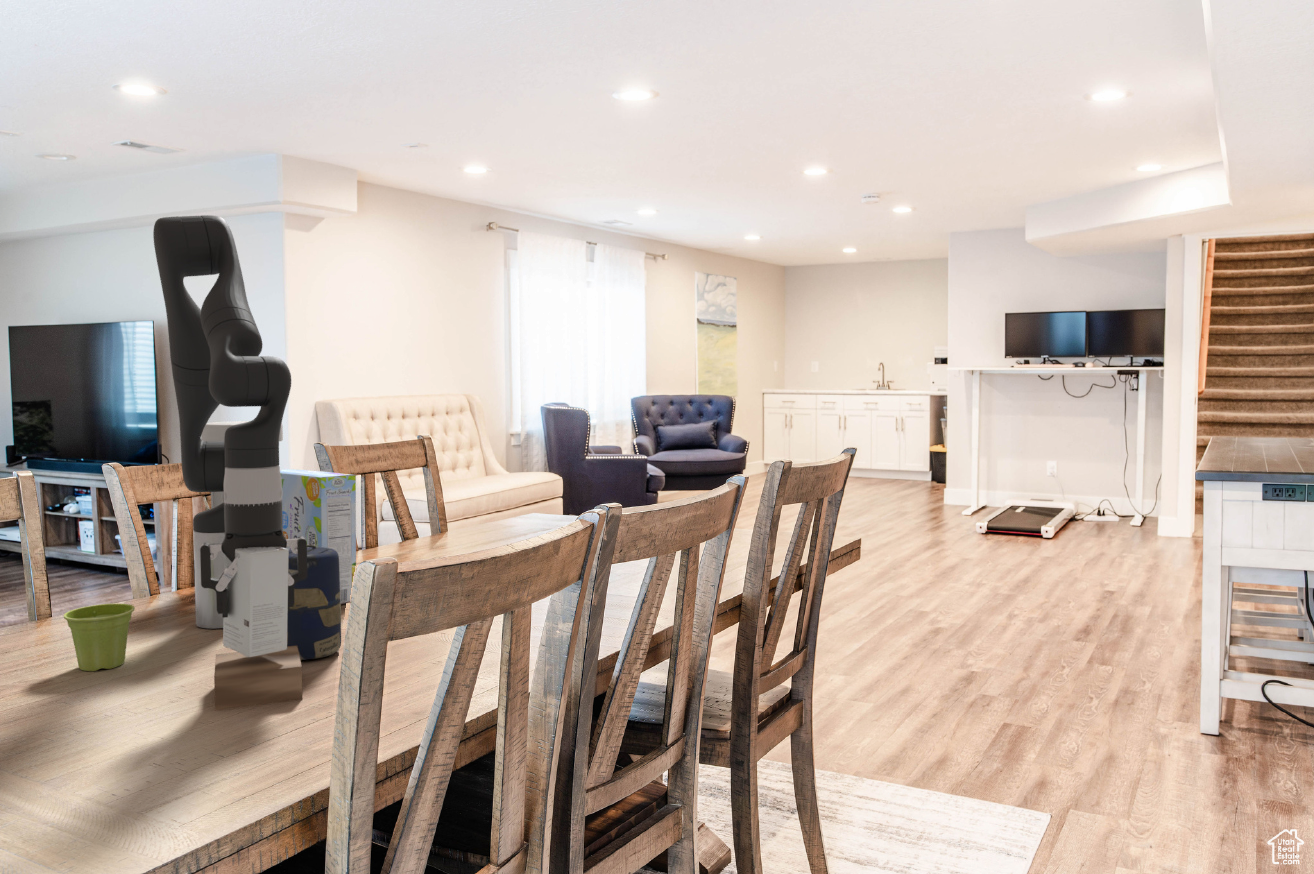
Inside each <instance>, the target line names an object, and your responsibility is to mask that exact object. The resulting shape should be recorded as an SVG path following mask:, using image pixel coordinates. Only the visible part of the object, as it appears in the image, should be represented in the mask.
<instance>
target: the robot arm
mask: <svg viewBox="0 0 1314 874" xmlns="http://www.w3.org/2000/svg"><path fill="white" fill-rule="evenodd" d="M232 232H233V231H232V230H231V228H230V226H229V223H227V221H226V220H225V219H224V218H223V217H221V216H218V215H211V214H210V215H209V214H208V215H206V214H205V215H189V216H188V215H182V216H179V215H178V216H166V217H160V218H158V219H156V221H155V222H154V226H153V234H152V235H153V237H152V238H153V245H154V246H153V247H154V250H155V251H154V252H155V258H156V263H157V264H156V265H157V269H158V274H159V279H160V285H161V289H162V295H163V300H164V306H165V313H166V321H167V330H168V331H167V332H168V341H169V344H168V345H169V355H170V356H169V357H170V365H171V372H172V373H171V374H172V379H173V385H174V392H175V397H176V403H177V404H176V405H177V410H178V419H179V433H180V434H179V436H180V438H179V439H180V456H181V457H180V458H181V459H180V460H181V474H182V478H183V482H184V484H185V487H186V488H187V490H188V491H190V492H193V493H194V492H195V493H211V492H224V493H223V498H224V502H223V503H222V504H220V505H218V506H216V507H214V508H211V507H210V508H209V509H206V510H203V511H201V512H198V513H196V514H195V515H194V516H193V520H192V529H193V531H192V533H193V561H194V562H193V563H194V564H193V565H194V567H193V568H194V592H195V593H194V595H195V602H194V603H195V625H196V627H198V628H203V629H223V619H224V618H225V617H228V592H227V589H226V586H227V585H228V583H229V582H230V581H231V579H232V578H233V577H234V575H235V574H236V572H237V564H236V563H237V558H238V555H237V556H236V557H235V549H239V548H242V550H243V549H247V548H249V547H262V548H268V547H283V548H286V546H288V547H290V548H291V550H292V552H293V553H294V554H297V570H298V571H296V572H294V573H292V574H291V573H290V572H289V571H288V611H290V608H289V607H293V606H294V603H295V602H294V585H295V584H296V583H297V582H299V581H301V580H305V579H306V578H307V542H306V539H305V538H304V537H303V536H300V537H298V538H297V539H286V538H285V537H284V535H283V514H282V496H283V491H282V480H281V474H280V470H281V469H280V468H281V467H280V441H279V435H280V428H281V423H282V422H283V418H284V413H285V411H286V410H285V409H286V406H287V403H288V399H289V396H290V393H291V388H292V374H291V371H290V369H289V366H288V365H287V363H286V362H285V361H284V360H283V359H281V358H280V357H277V356H269V355H267V356H263V355H261V353H262V350H263V341H262V336H261V333H260V331H259V329H258V328H259V327H258V325H257V323H256V321H255V319H254V316H253V314H252V311H251V307H250V306H249V302H248V298H247V292H246V287H245V282H244V278H243V277H244V276H243V272H242V268H241V264H240V263H241V262H240V259H239V255H238V251H237V246H236V242H235V238H234V235H233V233H232ZM213 275H218V277H217V278H216V281H215V282H214V285H213V286H212V288H211V289H210V290H209V292H208V294H207V295H206V297H205V298H204V300H203V302H202V305H201V308H200V307H199V306H198V304H197V303H196V302H195V300H194V299H193V298H192V295H190V293H189V292H188V290H187V288H186V286H185V284H184V279H185V278H187V277H200V276H201V277H202V276H213ZM260 355H261V356H260ZM220 405H222V406H224V407H229V408H231V407H232V408H237V407H239V408H241V407H248V408H249V407H260V409H259V411H258V413H257V415H256V417H254V419H252V420H249V422H246V423H241V424H237V425H233V426H231V427H229V428H227V430H226V431H225V437H224V441H202V440H201V435H202V432H203V430H204V427H205V425H206V424H207V423H209V422H208V421H209V420H210V418H211V417H212V415H213V413H214V412H215V411H216V410H217V408H218V407H219V406H220ZM282 424H283V423H282ZM225 555H226V556H227V558H228V559H229V560H230V561H231V562H232V563H231V565H230V566H229V567H228V566H227V567H226V568H225V570H224V561H225ZM233 568H234V569H233Z"/></svg>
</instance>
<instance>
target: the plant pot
mask: <svg viewBox="0 0 1314 874" xmlns="http://www.w3.org/2000/svg"><path fill="white" fill-rule="evenodd" d="M135 609H136V608H135V606H134V604H133V605H132V604H128V603H103V604H95V605H94V604H93V605H89V606H88V605H87V606H83V607H78V608H74V609H72V610H71V609H70V610H69V611H67V612H65V613H64V614H63V619H64V620H65V621H66V622H67V626H68V628H69V629H70V633H71V637H72V641H73V646H74V650H75V655H76V660H77V665H78V668H79V669H80V670H81V671H84V672H85V671H86V672H96V671H98V670H100V669H106V670H110V669H114V668H116V667H117V668H118V667H120V666H122V665H123V664H124V663H125V660H126V652H127V651H126V650H127V642H128V634H129V626H130V621H131V620H132V613H133V612H134V611H135Z"/></svg>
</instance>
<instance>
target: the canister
mask: <svg viewBox="0 0 1314 874" xmlns="http://www.w3.org/2000/svg"><path fill="white" fill-rule="evenodd" d="M288 571H289V572H290V573H291V574H292V573H294V572H296V571H298V570H297V554H294V553H293V552H292V550H289V556H288ZM294 602H295V603H294V606H293V607H289V608H290V611H288V613H287V647H288V646H297V648H298V652H299V656H300V661H303V660H313V659H314V660H315V659H321V658H325V657H328V656H331V655H334V654H335V653H337V652H338V651H339V650H340V648H341V645H342V624H341V623H342V607H341V606H342V604H341V597H340V571H339V555H338V553H337V551H335V550H334V549H331V548H324V547H316V546H314V545H307V578H306V579H305V580H301V581H299V582H297V583H296V584H295V585H294Z"/></svg>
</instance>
